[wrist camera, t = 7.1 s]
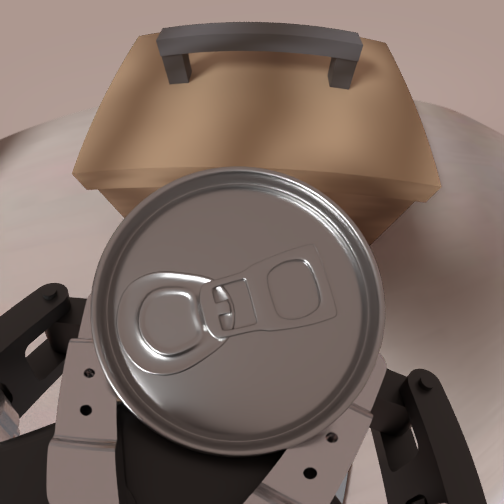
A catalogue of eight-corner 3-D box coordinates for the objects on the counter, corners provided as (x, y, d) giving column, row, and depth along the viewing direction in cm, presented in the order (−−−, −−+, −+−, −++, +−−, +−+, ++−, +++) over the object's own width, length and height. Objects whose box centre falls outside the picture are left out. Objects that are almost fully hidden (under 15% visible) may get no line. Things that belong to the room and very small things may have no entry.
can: (179, 291, 17) (65, 197, 6) (284, 264, 18) (335, 127, 6) (206, 398, 15) (119, 490, 4) (315, 368, 16) (436, 407, 4)
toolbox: (126, 388, 17) (-12, 419, 5) (167, 120, 24) (128, 2, 12) (370, 400, 17) (500, 449, 5) (354, 127, 23) (397, 9, 11)
